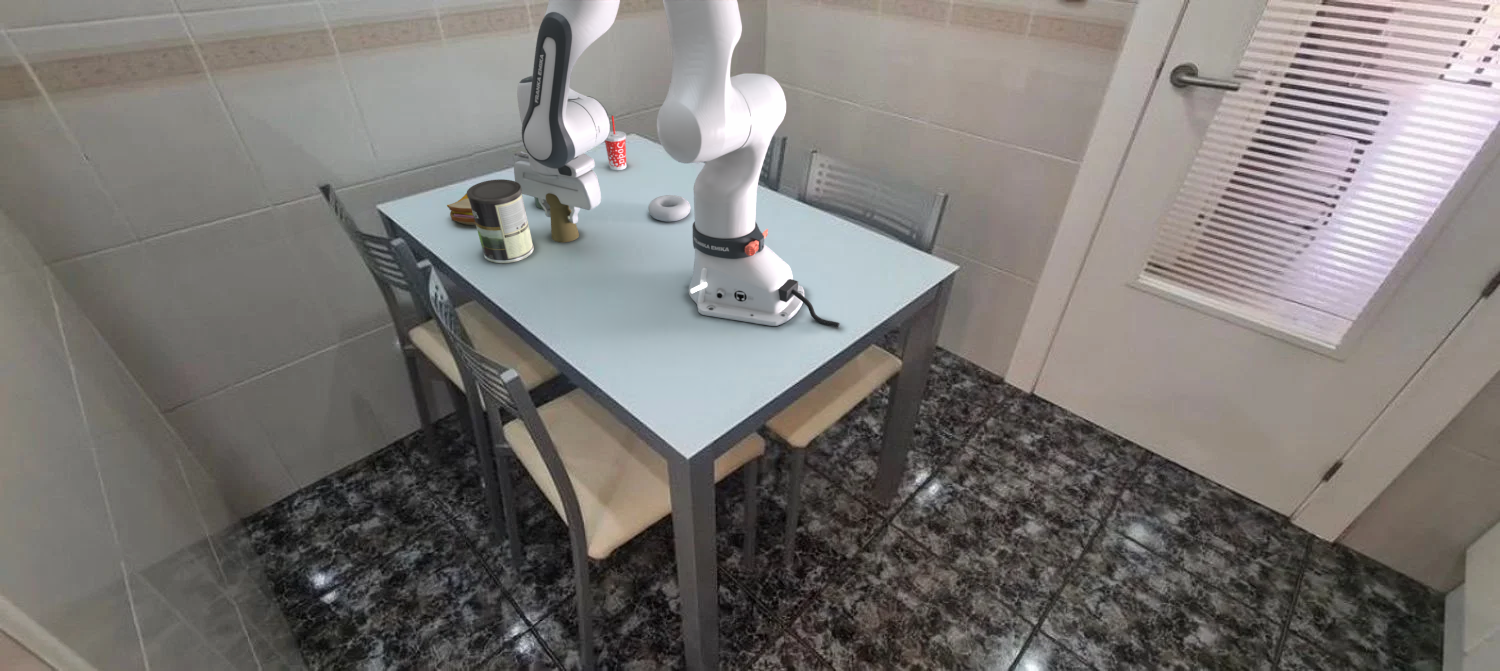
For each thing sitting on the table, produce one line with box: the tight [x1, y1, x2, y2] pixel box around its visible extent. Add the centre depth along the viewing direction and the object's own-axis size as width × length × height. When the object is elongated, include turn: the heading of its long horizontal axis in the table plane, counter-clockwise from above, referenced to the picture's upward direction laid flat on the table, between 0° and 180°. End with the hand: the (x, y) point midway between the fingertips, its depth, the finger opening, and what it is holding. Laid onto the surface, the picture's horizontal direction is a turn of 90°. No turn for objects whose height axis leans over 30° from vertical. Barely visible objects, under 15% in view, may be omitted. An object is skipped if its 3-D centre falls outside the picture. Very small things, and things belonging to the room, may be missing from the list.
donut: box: [648, 194, 692, 222], centre depth 145 cm, size 10×4×10 cm
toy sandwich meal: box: [446, 192, 476, 226], centre depth 142 cm, size 12×14×5 cm
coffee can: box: [466, 178, 535, 264], centre depth 126 cm, size 10×10×14 cm
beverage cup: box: [604, 115, 627, 171], centre depth 165 cm, size 6×6×14 cm
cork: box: [546, 193, 580, 244], centre depth 133 cm, size 6×6×11 cm
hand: (562, 219), depth 134 cm, fingers closed on cork, 4 cm apart
